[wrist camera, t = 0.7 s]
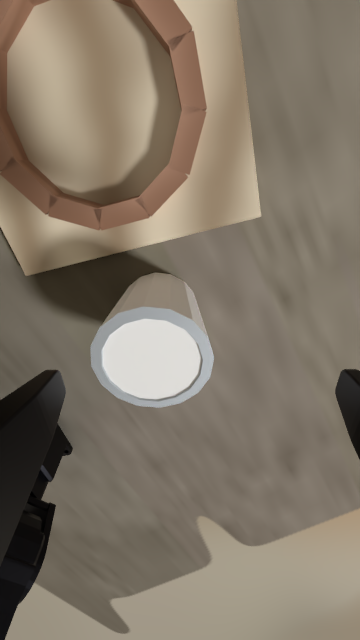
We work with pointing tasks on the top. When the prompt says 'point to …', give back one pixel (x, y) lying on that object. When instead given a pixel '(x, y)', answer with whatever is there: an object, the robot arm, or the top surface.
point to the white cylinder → (153, 344)
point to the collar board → (120, 126)
